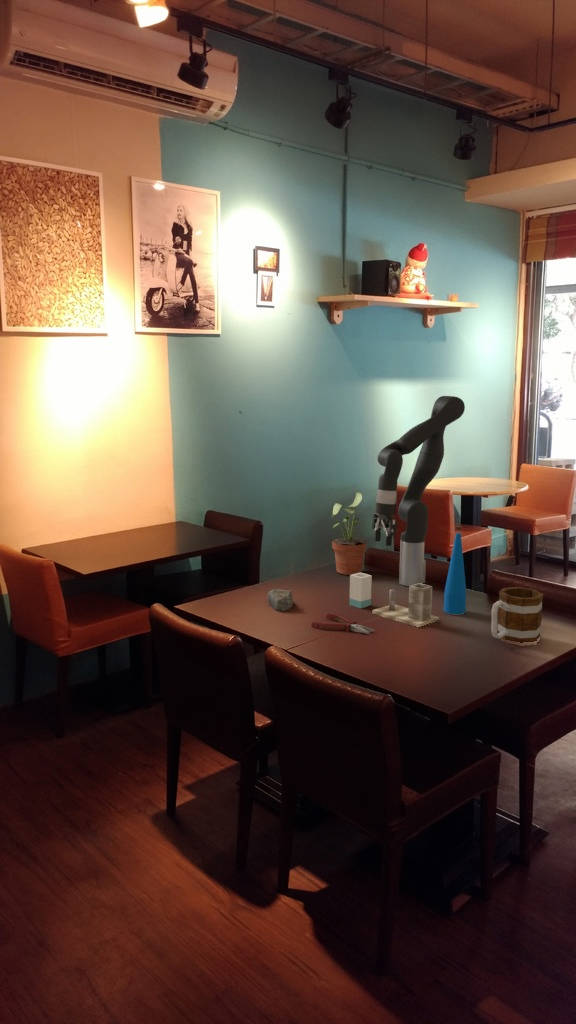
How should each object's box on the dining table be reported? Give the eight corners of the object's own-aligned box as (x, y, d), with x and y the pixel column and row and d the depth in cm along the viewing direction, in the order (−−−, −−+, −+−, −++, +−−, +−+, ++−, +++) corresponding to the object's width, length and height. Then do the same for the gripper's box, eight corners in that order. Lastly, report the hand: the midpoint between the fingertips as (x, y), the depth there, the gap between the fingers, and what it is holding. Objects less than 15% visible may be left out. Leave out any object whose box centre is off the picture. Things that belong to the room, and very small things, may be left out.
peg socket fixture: (372, 613, 270) (373, 579, 268) (393, 607, 277) (394, 573, 275) (418, 627, 255) (420, 591, 253) (439, 620, 263) (440, 585, 261)
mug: (514, 628, 255) (517, 584, 252) (549, 640, 244) (553, 594, 242) (473, 640, 244) (476, 594, 241) (508, 653, 233) (511, 605, 230)
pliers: (363, 640, 245) (363, 632, 244) (309, 628, 256) (309, 620, 255) (381, 630, 254) (381, 623, 253) (328, 619, 265) (328, 611, 265)
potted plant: (340, 565, 334) (342, 484, 328) (372, 571, 325) (374, 488, 319) (321, 573, 322) (322, 489, 315) (353, 579, 313) (355, 493, 306)
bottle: (454, 616, 267) (459, 529, 262) (439, 610, 273) (443, 525, 268) (469, 613, 271) (474, 527, 266) (454, 607, 277) (459, 523, 272)
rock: (265, 600, 283) (266, 583, 282) (288, 599, 286) (288, 582, 285) (276, 612, 271) (277, 594, 270) (300, 610, 274) (301, 592, 272)
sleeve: (349, 604, 279) (350, 575, 277) (359, 601, 283) (360, 572, 281) (360, 608, 276) (361, 578, 274) (370, 605, 279) (371, 575, 277)
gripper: (404, 504, 292) (400, 547, 294) (385, 498, 305) (382, 539, 307) (386, 504, 289) (383, 547, 291) (368, 498, 302) (365, 539, 304)
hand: (382, 543), depth 299 cm, fingers open, 8 cm apart
